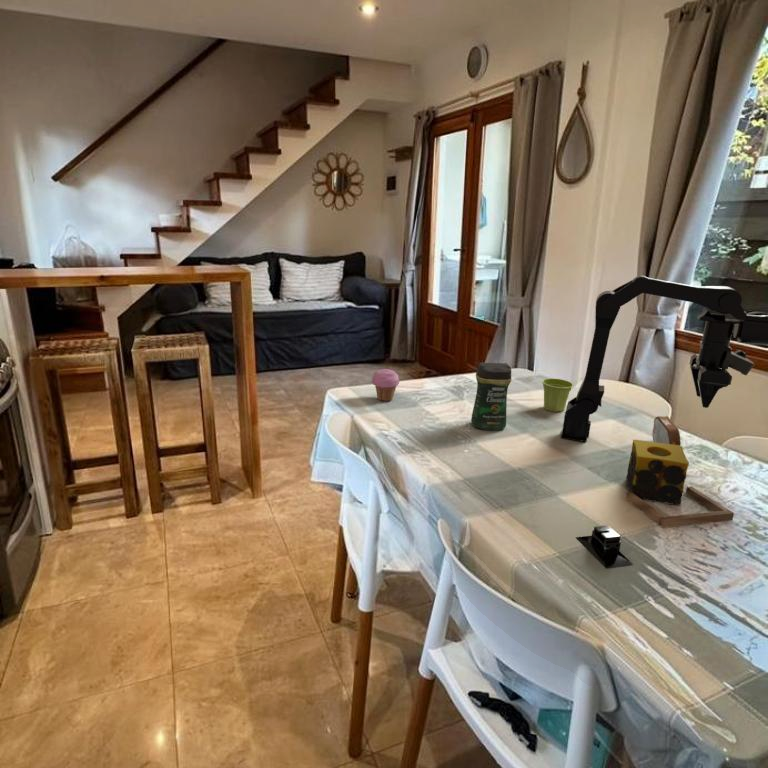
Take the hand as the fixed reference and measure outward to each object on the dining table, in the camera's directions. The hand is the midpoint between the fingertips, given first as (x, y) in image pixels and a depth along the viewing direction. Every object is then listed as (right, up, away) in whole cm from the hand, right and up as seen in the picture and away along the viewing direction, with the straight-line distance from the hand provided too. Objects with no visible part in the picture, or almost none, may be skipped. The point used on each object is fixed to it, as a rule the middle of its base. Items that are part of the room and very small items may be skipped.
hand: (702, 401), depth 132 cm
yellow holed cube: (-20, -20, -14) cm, 31 cm away
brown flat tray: (-18, -22, -21) cm, 35 cm away
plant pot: (-25, -4, +35) cm, 44 cm away
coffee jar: (-49, -8, +20) cm, 54 cm away
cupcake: (-79, -1, +39) cm, 88 cm away
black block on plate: (-40, -26, -36) cm, 60 cm away
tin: (-6, -13, +7) cm, 16 cm away
